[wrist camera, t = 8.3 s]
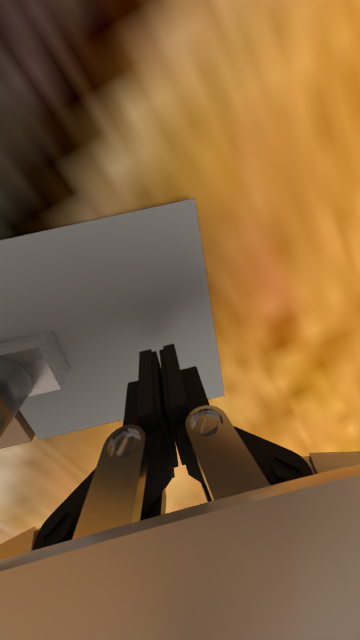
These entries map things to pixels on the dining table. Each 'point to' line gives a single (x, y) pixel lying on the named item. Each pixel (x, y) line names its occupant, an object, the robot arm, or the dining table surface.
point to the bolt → (29, 371)
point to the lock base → (107, 310)
